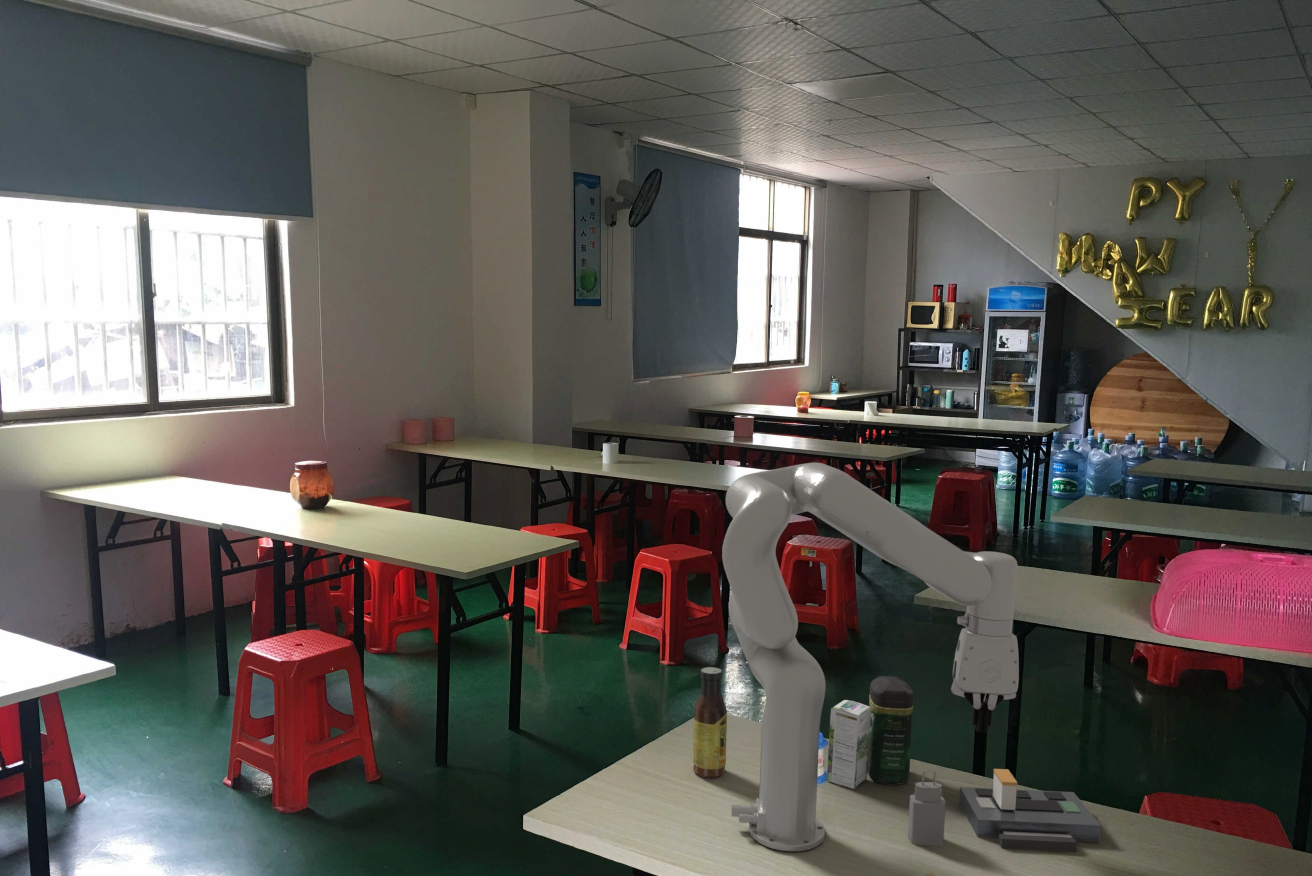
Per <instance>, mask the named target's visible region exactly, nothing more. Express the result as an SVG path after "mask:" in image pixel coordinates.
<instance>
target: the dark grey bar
mask: <svg viewBox="0 0 1312 876" xmlns="http://www.w3.org/2000/svg"><path fill="white" fill-rule="evenodd" d="M1077 843H1078V842H1076V841H1075V839H1074V838H1073V837H1071V835H1067V834H1046V833H1026V832H1005V831H1003V834H999V838H998V844H999V846H1000V848H1001V849H1013V850H1015V849H1016V850H1032V851H1033V850H1034V851H1049V852H1051V851H1053V852H1058V851H1059V852H1073V853H1074V852H1075V853H1076V852H1077Z"/></svg>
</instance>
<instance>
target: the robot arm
mask: <svg viewBox="0 0 1312 876" xmlns="http://www.w3.org/2000/svg"><path fill="white" fill-rule="evenodd" d="M725 494H726V495H725V507H726V509H727V511H728V514H729V515H730V517H731V518H732V520H731V522H730V523H729V526H728V528H727V530H726V533H725V535H724V539H723V544H722V549H721V550H722V551H721V552H722V554H721V556H722V557H721V559H722V564H723V569H724V571H725V574H726V578H727V580H728V583H729V584H728V585H729V586H730V589H731V593H730V596H729V601H728V613H729V617H730V621H731V623H732V626H733V628H734V631H735V633H736V636H737V639H738V641H739V644H740V646H741V649H742V651H743V655H744V657H745V659H746V662H747V664H748V667H749V668H750V670H751V673H752V674H753V676H754V677H755V680H757V681H758V682H759V684H760V685H761V687H762V688H763V690H764V691H765V697H766V698H765V706H764V710H763V715H762V719H761V727H760V730H761V732H760V765H759V768H760V769H759V792H758V793H759V796H758V797H756V799H755V803H750V804H749V805H744V804H743V805H742V804H733V803H732V804H731V809H730V810H731V814H730V815H731V817H734V818H735V817H737V818H738V822H739V823H743V824H746V823H748V832H749V835H750V836H751V838H753V840H755V841H756V842H757V843H759V844H760V845H763V846H764V847H766V848H770V849H773V850H776V851H783V852H803V851H808V850H812V849H815V848H816V847H818V846H819V845H821V844H822V843H823V842H824V840H825V837H826V836H825V835H826V833H825V832H826V829H825V826H824V825H823V823H822V822H821V821H820V820H819V819H818V818H817V799H818V798H817V797H818V796H817V795H818V794H817V793H818V778H819V777H818V775H819V774H818V772H819V750H820V728H821V727H820V726H821V718H822V717H821V716H822V712H823V706H824V702H825V701H824V700H825V697H826V686H827V685H826V678H825V674H824V672H823V669H822V666H821V665H820V664H819V662H818V661H817V660H816V658H814V656H813V655H811V653H810V652H809V651H808V650H806V649H805V648H804V647H803V646H802V645H801V644H800V643H799V642H798V641H799V640H798V639H797V638H796V635H797V632H798V627H799V620H798V619H799V618H798V614H797V610H796V607H795V605H794V603H793V600H792V598H791V596H790V593H789V590H788V588H787V585H786V583H785V581H784V578H783V577H784V576H782V571H781V570H780V566H779V563H778V559H777V555H776V553H777V552H776V550H777V549H776V548H777V544H778V541H779V539H780V537H781V535H782V533H784V530H786V528H787V527H788V525H789V523H790V520H791V517H792V516H793V515H798V514H801V513H805V512H808V513H810V514H812V515H814V516H815V517H816V518H818V519H820V520H821V521H823V522H824V523H825V524H827V525H829V526H830V527H832V528H834V529H835V530H837V531H839V532H840V533H841V534H843V535H845V536H846V537H847V538H850V539H851V540H852V541H854V542H856V543H857V544H859V545H860V546H862V547H863V548H864V549H866V550H868V551H869V552H870V553H872V554H874V555H876V556H877V557H879V558H880V559H882V560H884V561H886V562H888V563H890V564H892V565H894V566H897V567H899V568H901V569H903V570H904V571H907V572H908V573H910V574H912V575H913V576H915V577H917V578H919V579H920V580H922V581H923V582H924V584H926V586H927V587H929V588H931V590H933V591H935V592H937V593H938V594H941V595H942V596H945V597H946V598H948V599H950V600H951V601H953V602H954V603H956V604H959V605H962V606H964V607H965V606H966V611H965V614H964V615H962V616H957V619H956V622H957V624H958V625H962V626H964V627H965V628H964V627H963V628H962V629H961V630H960V633H959V636H958V641H957V645H956V648H955V653H954V659H953V667H952V680H953V681H952V684H951V688H950V691H951V693H952V694H953V695H956V696H959V697H962V698H965V699H966V700H967V701H968V702H969V703H970V704H971V713H970V715H971V716H970V723H971V725H972V726H973V727H974V729H975V730H976V732H978V733H981V732H983V733H988V731H989V727H991V724H992V717H993V716H992V714H993V710H995V709H996V706H997V705H999V704H1000V703H1001V702H1002V701H1003V700H1014V699H1015V698H1016V697H1017V691H1018V688H1019V682H1020V681H1019V680H1020V677H1019V676H1020V675H1019V673H1020V669H1019V666H1020V665H1019V664H1020V663H1019V662H1020V661H1019V660H1020V659H1019V647H1018V646H1019V643H1018V637H1017V636H1016V634H1014V633H1013V624H1014V623H1013V622H1014V615H1015V614H1014V612H1015V600H1016V589H1017V579H1018V578H1017V576H1018V561H1017V559H1016V558H1015V557H1014V556H1012V555H1010V554H1007V553H1003V552H998V551H986V550H985V551H978V552H971V551H964V550H962V549H961V548H960V547H958V546H956V545H954V544H953V543H951V542H950V541H948V540H947V539H945V538H944V537H942V536H941V535H939V534H937V533H936V532H935V531H933V530H931V529H930V528H928V527H927V526H926V525H924V524H922V523H921V522H920V521H918V520H917V519H916V518H914V517H912V516H911V515H909V514H908V513H906V512H905V511H903V510H902V509H901V508H899V507H898V506H896V505H895V504H893V503H892V502H890V501H888V500H887V499H885V498H884V497H882V496H880V495H879V494H878V493H876V492H875V491H873V490H872V489H870V488H869V487H867V486H866V485H865V484H863V483H861V482H860V481H858V480H856V479H855V478H853V477H852V476H851V475H849V474H848V473H846V472H845V471H842V470H841V469H838V468H836V467H832V466H831V465H827V464H825V463H822V462H807V463H802V464H795V465H790V466H784V467H780V468H775V469H769V470H764V471H758V472H753V473H749V474H744V475H741V477H740V476H739V478H737V479H735V480H734V481H733V482H732V483H731V484H730V485H729V487H728V489H727V491H726V493H725ZM981 694H983V695H984V698H983V701H982V702H981V700H982V699H981Z"/></svg>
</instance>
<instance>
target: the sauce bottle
mask: <svg viewBox="0 0 1312 876" xmlns="http://www.w3.org/2000/svg"><path fill="white" fill-rule="evenodd" d="M700 679H701V683H700V684H701V686H700V695H699V696H698V698H697V700H696V702H695V704H694V718H693V743H692V744H693V748H692V749H693V751H692V752H693V754H692V756H693V757H692V764H693V768H692V769H693V772H694V773H695V775H698V776H700V777H702V778H709V779H710V778H718V777H720V776H722V775H723V774H724V773H725V769H726V761H727V733H728V732H727V729H728V728H727V722H728V721H727V720H728V709H727V708H726V703H725V701H724V697H723V694H722V679H723V670H722V669H720V668H718V667H715V666H714V667H712V666H708V667H703V668H702V669H700Z"/></svg>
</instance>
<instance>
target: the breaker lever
mask: <svg viewBox="0 0 1312 876" xmlns="http://www.w3.org/2000/svg"><path fill="white" fill-rule="evenodd" d="M992 782H993V783H992V788H993V797H994V799H995V800H996V802H997V804H998V805H999V807H1000V809H1006V810H1015V806H1016V790H1018V782H1017V780H1016V778H1015V777H1014V775H1013V774H1012V772H1010V770H1009V769H1008V768H1006V769H1005V768H1004V769H1003V768H993V781H992Z"/></svg>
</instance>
